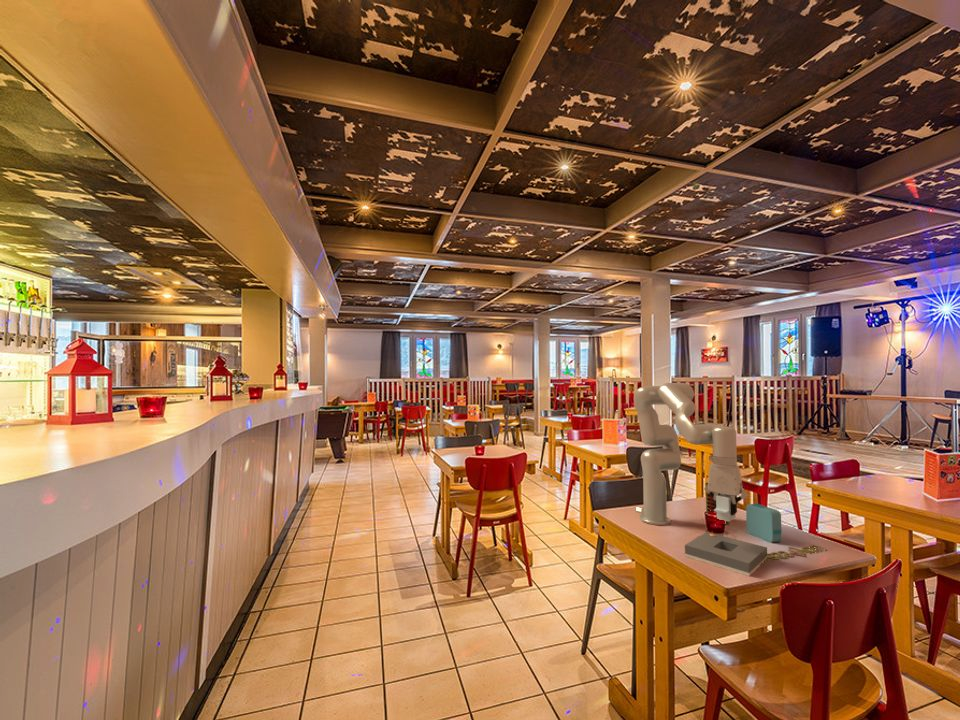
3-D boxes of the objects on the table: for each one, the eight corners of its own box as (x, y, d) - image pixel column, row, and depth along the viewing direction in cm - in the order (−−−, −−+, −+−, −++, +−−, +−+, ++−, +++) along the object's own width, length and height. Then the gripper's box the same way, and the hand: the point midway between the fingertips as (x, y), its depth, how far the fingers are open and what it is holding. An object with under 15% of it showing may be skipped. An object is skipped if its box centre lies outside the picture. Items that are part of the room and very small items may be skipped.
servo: (714, 520, 149) (713, 495, 150) (725, 513, 157) (724, 489, 158) (726, 523, 146) (726, 497, 147) (737, 516, 154) (737, 491, 155)
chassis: (685, 556, 151) (684, 544, 151) (706, 542, 164) (706, 531, 165) (749, 576, 136) (748, 562, 136) (767, 558, 149) (767, 546, 150)
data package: (782, 542, 165) (781, 511, 165) (772, 543, 164) (772, 512, 164) (755, 531, 176) (754, 502, 177) (746, 532, 175) (745, 503, 176)
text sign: (732, 559, 150) (753, 568, 142) (732, 557, 150) (753, 566, 142) (809, 545, 163) (832, 553, 155) (809, 543, 163) (832, 551, 156)
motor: (700, 517, 194) (699, 473, 195) (717, 516, 196) (716, 472, 197) (717, 524, 184) (716, 478, 185) (734, 523, 186) (733, 477, 187)
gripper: (696, 459, 156) (697, 509, 155) (747, 466, 144) (749, 521, 143) (703, 457, 161) (704, 505, 160) (754, 463, 149) (756, 516, 148)
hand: (725, 512), depth 152 cm, fingers closed on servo, 4 cm apart
